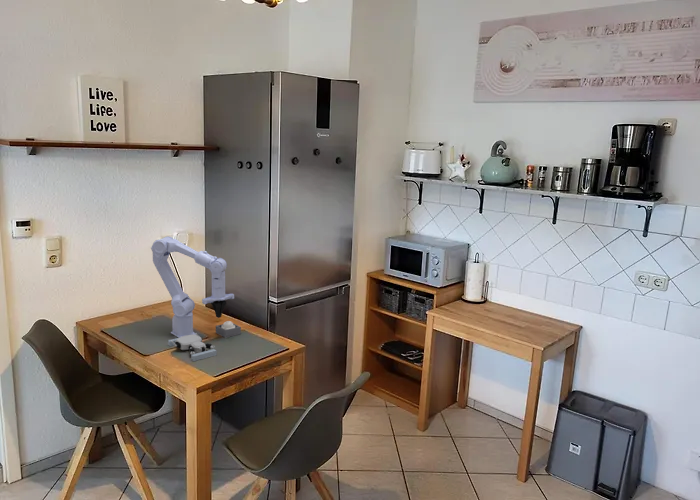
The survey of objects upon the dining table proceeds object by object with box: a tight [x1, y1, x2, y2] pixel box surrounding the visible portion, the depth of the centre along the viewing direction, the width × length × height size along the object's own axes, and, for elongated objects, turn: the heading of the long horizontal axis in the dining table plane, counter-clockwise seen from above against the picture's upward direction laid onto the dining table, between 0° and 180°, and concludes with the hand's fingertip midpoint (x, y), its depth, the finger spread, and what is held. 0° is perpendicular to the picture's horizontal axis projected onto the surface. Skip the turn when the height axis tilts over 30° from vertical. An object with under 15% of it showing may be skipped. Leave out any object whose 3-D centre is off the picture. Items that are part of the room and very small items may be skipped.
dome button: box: [221, 320, 235, 330], centre depth 240 cm, size 6×6×5 cm
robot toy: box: [170, 332, 216, 356], centre depth 220 cm, size 12×4×15 cm
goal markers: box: [167, 337, 218, 362], centre depth 220 cm, size 22×10×2 cm, turn 44°
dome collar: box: [215, 322, 242, 339], centre depth 240 cm, size 8×8×3 cm
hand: (218, 317), depth 233 cm, fingers closed
